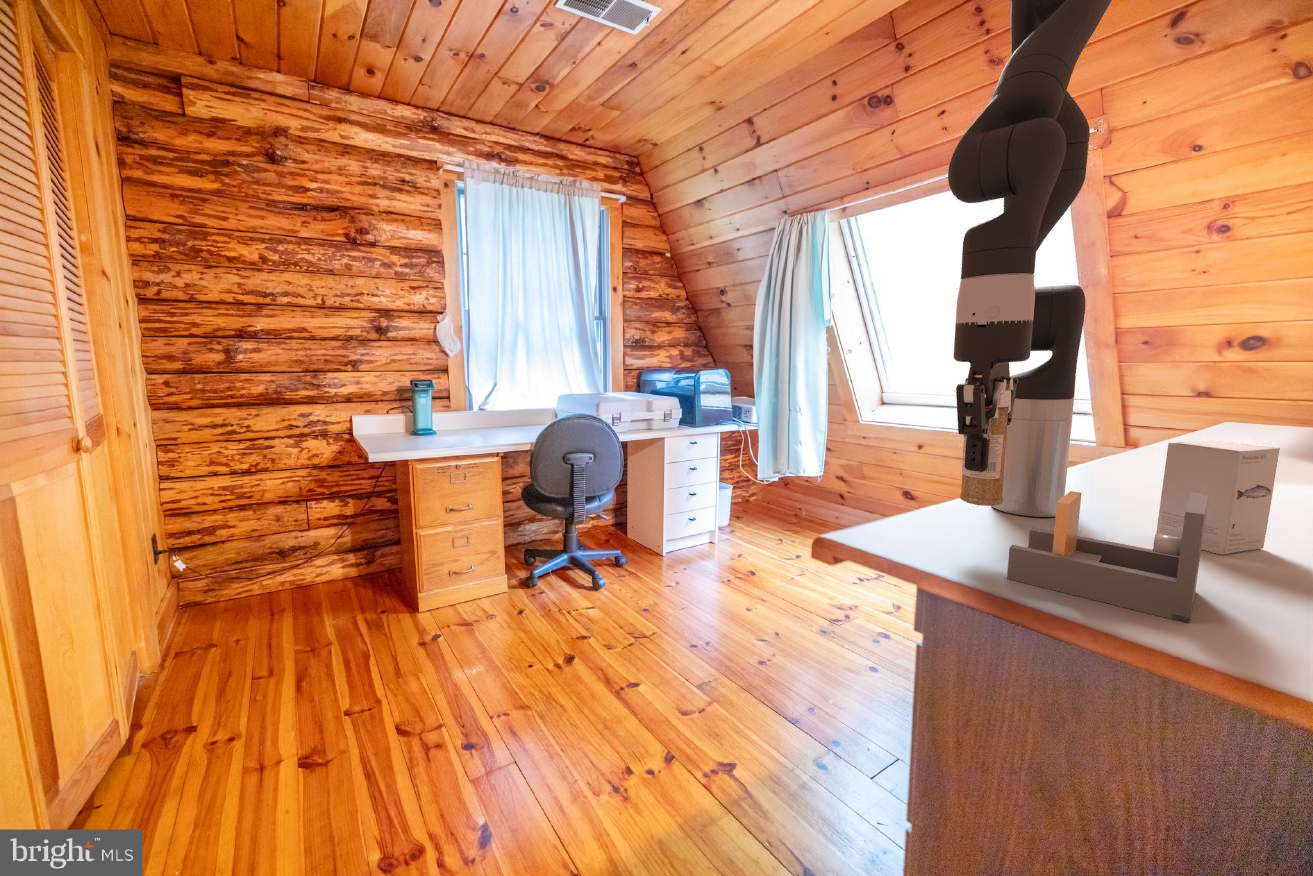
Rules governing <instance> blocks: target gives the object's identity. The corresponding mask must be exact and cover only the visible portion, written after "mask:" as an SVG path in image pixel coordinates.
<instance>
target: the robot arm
mask: <svg viewBox="0 0 1313 876" xmlns="http://www.w3.org/2000/svg"><path fill="white" fill-rule="evenodd" d="M1111 3H1112V0H1010V47H1011V48H1010V57H1009V59H1008V60H1007V62H1006V64H1005V65H1004V67H1003V69H1002V71H1001V74H1000V77H999V79H998V82H997V84H996V86H995V89H994V92H993V94H992V97H991V100H990V102H989V104H988V105H987V106H985V108H984V109H983V110H982V111H981V113H980V114H979V115H978V117H977V118H975V120H974V121H973V122H972V124H971V125H970V127H968V128H967V130H966V131H965V133H964V134H963V135H962V137H961V138H960V140H959V141H958V143H957V145H956V146H955V149H954V151H953V153H952V156H951V158H950V162H949V165H948V171H947V180H948V185H949V189H950V191H951V192H952V195H953V196H954V197H955V198H956V199H957V200H959V201H961V202H962V203H965V204H979V203H985V202H990V201H994V200H999V199H1003V212H1002V213H1001V214H999V215H997V216H995V217H993V218H991V219H990V218H989V219H988V220H985V221H982V222H979V223H977V224H976V225H973V226H971V227H970V228H968V229H967V230H966V232H965V234H964V236H963V241H962V249H961V251H962V252H961V255H962V256H961V269H960V270H961V271H960V273H961V274H960V282H959V289H958V294H957V299H956V309H955V310H956V311H955V325H954V326H955V327H954V340H953V341H954V342H953V359H954V361H956V362H959V363H969V365H970V367H969V371H968V375H967V378H965V380H964V384H963V383H962V384H961V383H959V384H957V385H956V388H955V395H956V396H955V397H956V412H957V414H956V415H957V418H956V419H957V432H958V434H959V435H962V436H963V438H964V437H965V438H966V451H965V468H966V469H967V470H971V471H978V472H983V471H985V470H986V469H987V468H988V455H989V441H990V440H989V438H990V436H991V428H992V422H993V421H994V420H996V419H997V418H998V416H999V410H1000V398H1001V395H1002V394H1004V393H1005V390H1010V391H1011V405H1010V406H1009V407H1008V408H1009V410H1008V421H1007V438H1006V463H1005V475H1004V479H1003V493H1002V497H1003V502H1002V503H1001V504H999V505H995V506H991V507H992V508H994V509H996V510H997V511H998V510H999V511H1001V512H1005V513H1007V514H1008V513H1009V514H1013V515H1018V516H1027V517H1037V518H1038V517H1039V518H1051V517H1052V518H1053V517H1056V509H1057V502H1058V501H1059V500H1060V499H1062V498H1063V497H1064V496H1065V495H1066V487H1067V486H1066V485H1067V476H1068V465H1069V457H1070V455H1069V454H1070V447H1071V445H1070V444H1071V436H1072V425H1073V414H1074V413H1073V412H1074V405H1075V404H1074V403H1075V391H1076V377H1077V367H1078V357H1079V351H1080V345H1081V340H1082V333H1083V328H1084V327H1083V326H1084V321H1085V315H1086V296H1085V292H1084V289H1082V287H1081V286H1079V285H1077V284H1063V285H1048V286H1047V285H1046V286H1035V275H1034V274H1035V269H1036V258H1037V252H1038V250H1039V249H1040V247H1041V245H1042V244H1043V242H1044V241H1045V239H1046V238H1047V237H1048V235H1049V234H1050V232H1051V231H1052V230H1053V229H1054V227H1055V226H1056V224H1057V223H1058V222H1059V221H1060V220H1061V219H1062V217H1063V216H1064V214H1065V213H1066V212H1067V210H1068V209H1069V208H1070V206H1071V205H1072V204H1073V203H1074V201H1075V200H1076V198H1077V197H1078V195H1079V194H1080V191H1081V190H1082V188H1083V186H1084V184H1085V180H1086V174H1087V166H1088V155H1089V143H1090V133H1091V131H1090V130H1091V129H1090V125H1089V122H1088V120H1087V118H1086V115H1085V113H1084V112H1083V111H1082V109H1081V108H1080V106H1079V105H1078V103H1077V102H1076V100H1075V99H1074V98H1073V97H1072V96H1071V95H1072V94H1070V92H1069V91H1068V90H1067V89H1068V87H1069V84H1070V81H1071V79H1072V74H1073V72H1074V69H1075V66H1076V65H1077V62H1078V60H1079V58H1080V56H1081V54H1082V52H1083V51H1084V49H1085V47H1086V45H1087V44H1088V42H1089V40H1090V39H1091V37H1092V35H1093V34H1094V32H1095V31H1096V29H1097V27H1098V25H1099V24H1100V22H1101V20H1102V18H1103V16H1104V15H1105V14H1106V12H1107V9H1108V7H1109V6H1110V4H1111ZM1044 351H1045V352H1047V351H1049V352H1051V354H1052V355H1051V357H1050V358H1048V360H1047V361H1045V362H1044V363H1042V364H1040V365H1039V366H1036V367H1034V368H1032V369H1029V370H1027V371H1023V372H1020V373H1015V374H1011V372H1010V363H1016V362H1017V363H1018V362H1025V361H1028V360H1029V359H1030V358H1031V352H1044ZM993 394H994V395H993ZM991 405H992V407H991V409H990V410H989V411H985V407H989V406H991ZM975 418H977V425H973V420H974V419H975Z"/></svg>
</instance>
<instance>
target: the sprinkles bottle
mask: <svg viewBox="0 0 1313 876" xmlns="http://www.w3.org/2000/svg"><path fill="white" fill-rule="evenodd" d="M993 395H994V394H993ZM1010 405H1011V391H1010V390H1005V393H1004V394H1002V395H1001V398H1000V410H999V416H998V418H997V419H996V420H994V421H993V422H992V428H991V436H990V438H989V440H990V441H989V455H988V468H987V469H986V470H985V471H983V472H978V471H971V470H967V469H966V468H965V451H966V438H965V437H964V436H963V446H962V447H963V449H962V461H961V465H962V466H961V473H962V475H961V489H960V490H961V491H960V495H959V499H960V500H961V501H963V502H965V503H967V504H971V505H975V506H986V507H992V506H995V505H999V504H1001V503H1002V502H1003V497H1002V493H1003V479H1004V475H1005V463H1006V438H1007V421H1008V410H1009V408H1008V407H1009V406H1010ZM991 407H992V405H991V406H989V407H985V411H989V410H990V409H991ZM973 425H977V418H975V419H974V420H973Z"/></svg>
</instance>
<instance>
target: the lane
mask: <svg viewBox="0 0 1313 876" xmlns="http://www.w3.org/2000/svg"><path fill="white" fill-rule="evenodd" d="M1208 497H1209V495H1208V494H1200V493H1192V494H1191V497H1190V500H1189V502H1188V505H1187V508H1186V511H1185V518H1184V525H1183V533H1182V538H1180V537H1174V536H1167V535H1161V534H1156V533H1155V534H1154V538H1153V539H1154V540H1153V546H1152V547H1153V548H1146V547H1141V546H1135V545H1131V544H1125V543H1124V544H1123V543H1119V542H1114V541H1107V540H1103V539H1099V538H1098V539H1097V538H1091V537H1088V536H1087V537H1086V536H1081V535H1077V543H1076V551H1080V552H1085V553H1090V554H1095V555H1100V556H1102V563H1100V562H1095V561H1091V560H1086V559H1081V558H1076V557H1071V556H1066V555H1061V554H1056V553H1052V551H1053V540H1054V531H1053V530H1049V529H1048V530H1047V529H1042V528H1036V527H1032V528H1030V529H1029V532H1028V533H1029V535H1028V544H1027V546H1021V545H1017V544H1011V545H1010V546H1009V547H1008V549H1009V550H1008V562H1007V573H1006V575H1007V576H1006V579H1008V580H1011V581H1016V582H1020V583H1023V584H1028V585H1032V586H1036V587H1040V588H1044V589H1047V590H1048V589H1049V590H1052V591H1056V592H1060V593H1065V594H1067V595H1072V596H1077V597H1080V598H1085V599H1089V600H1093V601H1097V602H1102V603H1105V604H1108V605H1109V604H1110V605H1114V606H1118V607H1121V608H1125V609H1129V610H1135V611H1137V612H1142V613H1146V614H1150V615H1154V616H1158V617H1163V618H1165V619H1166V618H1167V619H1171V620H1176V621H1179V622H1183V623H1187V624H1190V622H1191V617H1192V612H1193V607H1194V601H1195V595H1196V589H1197V583H1198V575H1199V569H1200V562H1201V554H1202V550H1201V548H1202V541H1203V533H1204V526H1205V519H1206V512H1207V504H1208Z"/></svg>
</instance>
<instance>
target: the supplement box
mask: <svg viewBox="0 0 1313 876" xmlns="http://www.w3.org/2000/svg"><path fill="white" fill-rule="evenodd" d="M1166 449H1167V451H1166V460H1165V464H1164V465H1165V466H1164V472H1163V473H1164V474H1163V479H1162V480H1163V481H1162V487H1161V489H1162V490H1161V495H1160V503H1159V510H1158V517H1157V525H1156V526H1157V527H1156V532H1155V534H1161V535H1167V536H1174V537H1180V538H1182V533H1183V525H1184V518H1185V511H1186V508H1187V505H1188V502H1189V500H1190V497H1191V494H1192V493H1200V494H1208V495H1209V497H1208V504H1207V512H1206V519H1205V526H1204V533H1203V541H1202V548H1201V551H1206V552H1210V553H1213V554H1217V555H1221V556H1224V555H1228V554H1232V553H1233V554H1234V553H1239V552H1246V551H1251V550H1253V551H1254V550H1262V549H1264V546H1265V540H1266V535H1267V529H1268V523H1269V517H1270V512H1271V507H1272V506H1271V505H1272V499H1273V494H1274V493H1273V492H1274V487H1275V480H1276V473H1277V469H1278V468H1277V467H1278V463H1279V462H1278V461H1279V456H1280V450H1281V449H1280V447H1276V446H1268V445H1260V444H1259V445H1258V444H1249V443H1239V442H1231V441H1223V440H1213V439H1211V440H1210V439H1204V440H1201V439H1200V440H1189V441H1185V440H1184V441H1172V442H1171V441H1170V442H1168V444H1167V448H1166Z"/></svg>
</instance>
